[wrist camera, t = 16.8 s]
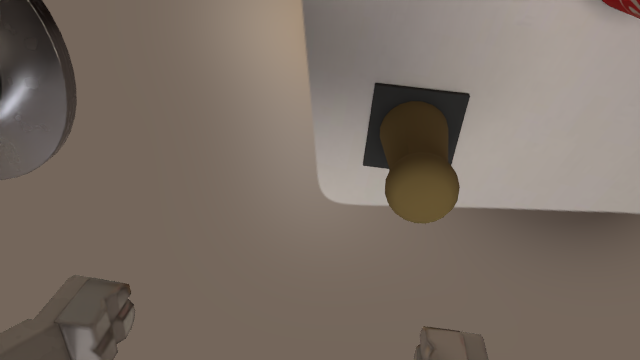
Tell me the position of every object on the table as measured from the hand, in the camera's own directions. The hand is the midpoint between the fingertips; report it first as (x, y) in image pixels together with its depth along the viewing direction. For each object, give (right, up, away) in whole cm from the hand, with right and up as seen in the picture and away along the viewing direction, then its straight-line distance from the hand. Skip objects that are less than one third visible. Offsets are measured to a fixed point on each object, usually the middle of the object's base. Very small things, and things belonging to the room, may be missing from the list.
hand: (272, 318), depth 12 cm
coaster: (+10, +8, +28) cm, 31 cm away
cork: (+10, +8, +28) cm, 30 cm away
